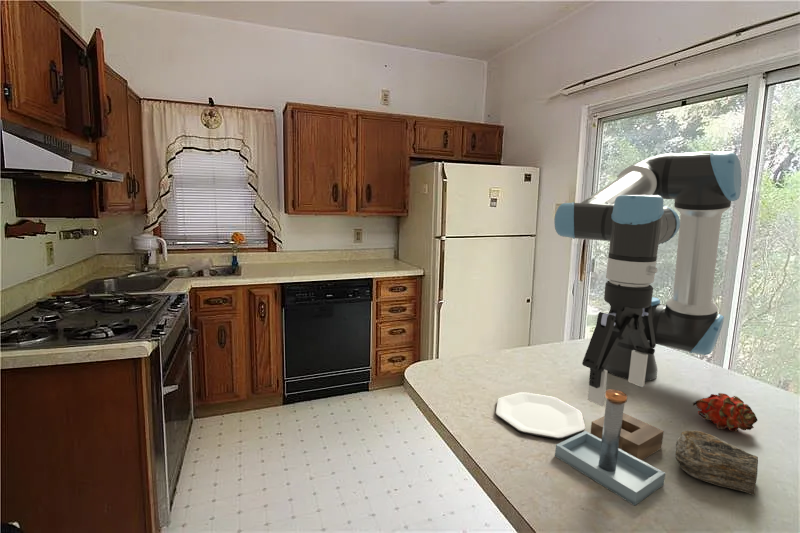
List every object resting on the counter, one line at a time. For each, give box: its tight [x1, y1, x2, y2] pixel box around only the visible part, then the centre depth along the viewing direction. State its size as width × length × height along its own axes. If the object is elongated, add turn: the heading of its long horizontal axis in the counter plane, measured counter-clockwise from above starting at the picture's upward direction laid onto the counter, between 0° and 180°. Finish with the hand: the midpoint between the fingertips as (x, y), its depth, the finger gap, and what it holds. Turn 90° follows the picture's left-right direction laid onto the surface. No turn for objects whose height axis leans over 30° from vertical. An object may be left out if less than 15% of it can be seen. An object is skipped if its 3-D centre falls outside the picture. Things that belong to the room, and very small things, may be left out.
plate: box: [495, 391, 586, 440], centre depth 99 cm, size 20×20×2 cm
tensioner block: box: [589, 412, 665, 461], centre depth 89 cm, size 10×10×4 cm
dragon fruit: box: [692, 392, 758, 432], centre depth 97 cm, size 8×8×12 cm
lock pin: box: [599, 388, 628, 472], centre depth 79 cm, size 4×4×15 cm
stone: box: [675, 430, 759, 495], centre depth 79 cm, size 14×10×10 cm
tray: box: [554, 430, 666, 506], centre depth 80 cm, size 16×10×2 cm, turn 33°
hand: (616, 392), depth 78 cm, fingers open, 13 cm apart
